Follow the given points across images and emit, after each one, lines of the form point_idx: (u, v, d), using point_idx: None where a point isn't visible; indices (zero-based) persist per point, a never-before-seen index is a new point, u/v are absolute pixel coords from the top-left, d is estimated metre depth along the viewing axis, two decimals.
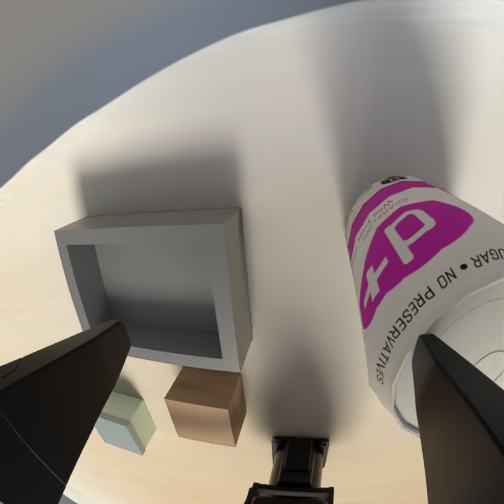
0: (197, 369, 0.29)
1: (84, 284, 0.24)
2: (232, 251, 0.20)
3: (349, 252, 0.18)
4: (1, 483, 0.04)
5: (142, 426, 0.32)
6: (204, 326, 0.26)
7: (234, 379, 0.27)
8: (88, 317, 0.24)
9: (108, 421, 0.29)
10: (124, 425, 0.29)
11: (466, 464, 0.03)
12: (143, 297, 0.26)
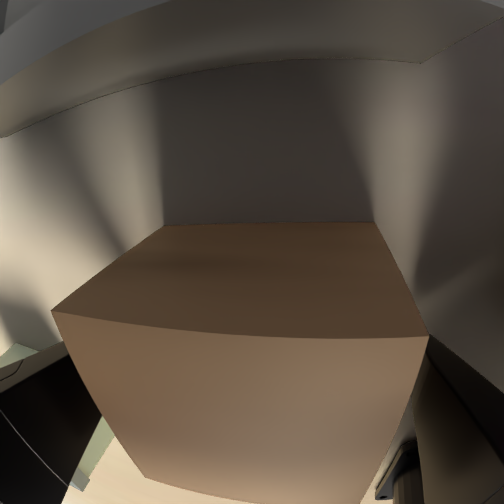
0: (211, 226, 0.09)
1: None
2: None
3: None
4: (3, 485, 0.04)
5: None
6: None
7: (365, 234, 0.07)
8: None
9: None
10: None
11: (462, 465, 0.03)
12: None
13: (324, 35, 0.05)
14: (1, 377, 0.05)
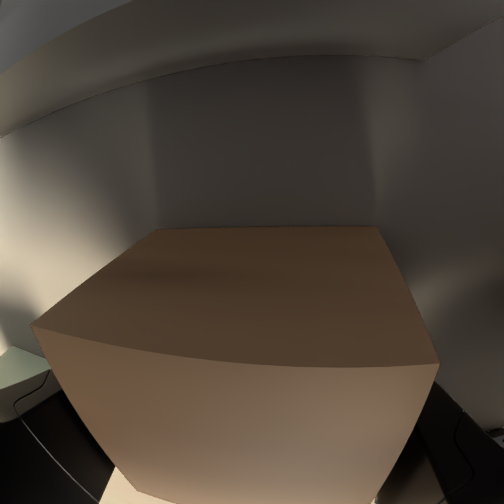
0: (203, 231, 0.08)
1: None
2: None
3: None
4: None
5: None
6: None
7: (368, 241, 0.06)
8: None
9: None
10: None
11: (405, 475, 0.04)
12: None
13: (323, 29, 0.04)
14: (26, 391, 0.05)
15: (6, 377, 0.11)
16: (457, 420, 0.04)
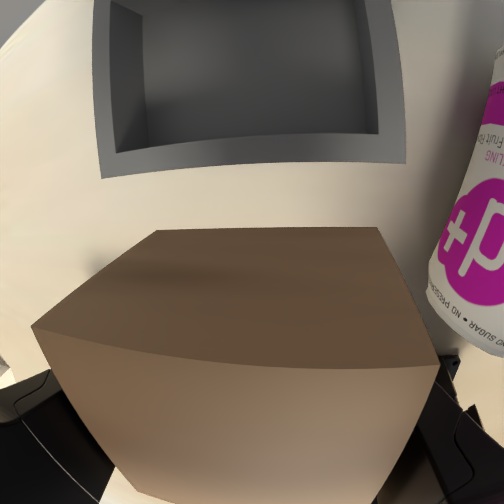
0: (204, 232, 0.08)
1: (119, 64, 0.13)
2: None
3: (486, 105, 0.11)
4: None
5: None
6: (317, 125, 0.15)
7: (368, 242, 0.06)
8: (114, 112, 0.14)
9: None
10: None
11: (405, 475, 0.04)
12: (212, 89, 0.15)
13: None
14: (26, 391, 0.05)
15: None
16: (457, 420, 0.04)
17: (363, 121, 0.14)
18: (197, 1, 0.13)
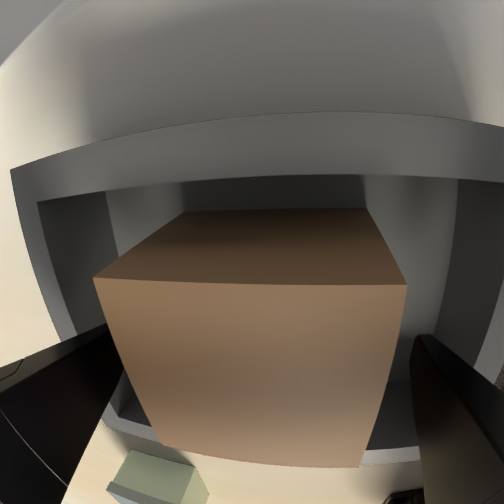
0: (225, 212, 0.10)
1: (86, 304, 0.10)
2: None
3: None
4: (3, 484, 0.04)
5: (194, 501, 0.19)
6: None
7: (359, 217, 0.08)
8: None
9: None
10: None
11: (463, 465, 0.03)
12: None
13: None
14: (1, 377, 0.05)
15: (142, 477, 0.18)
16: None
17: None
18: None
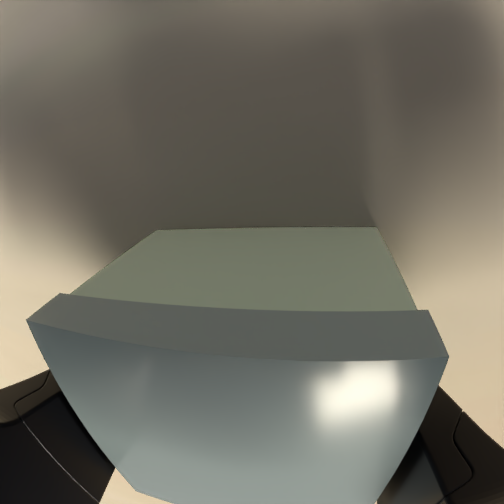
0: None
1: None
2: None
3: None
4: None
5: None
6: None
7: None
8: None
9: (214, 367, 0.03)
10: (422, 355, 0.03)
11: (404, 475, 0.04)
12: None
13: None
14: (27, 391, 0.05)
15: (196, 269, 0.06)
16: (456, 420, 0.04)
17: None
18: None
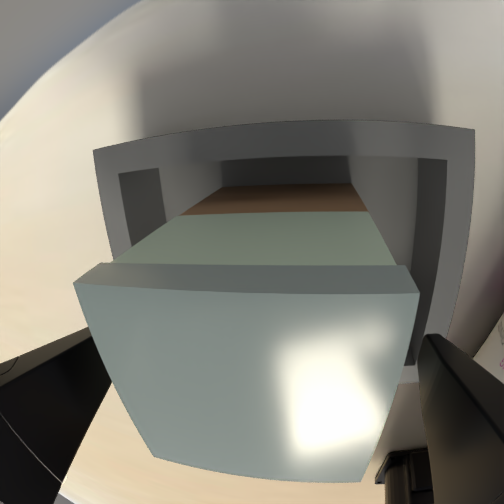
0: (253, 186, 0.14)
1: None
2: None
3: None
4: None
5: None
6: None
7: (345, 187, 0.12)
8: None
9: (241, 304, 0.05)
10: (399, 292, 0.04)
11: (473, 462, 0.03)
12: None
13: None
14: None
15: (218, 242, 0.07)
16: None
17: None
18: None
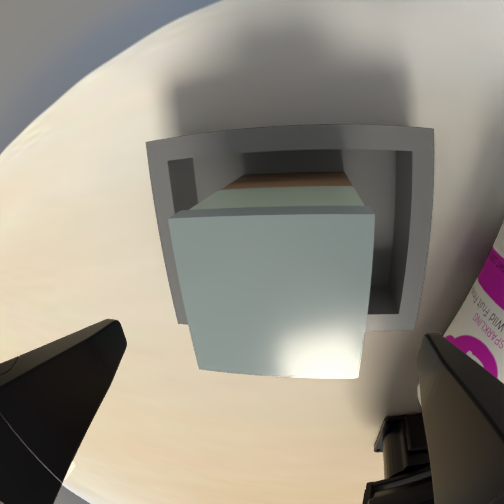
0: (269, 173, 0.18)
1: None
2: None
3: (486, 266, 0.16)
4: None
5: None
6: None
7: (338, 174, 0.16)
8: None
9: (279, 222, 0.09)
10: (363, 214, 0.08)
11: (473, 462, 0.03)
12: None
13: None
14: None
15: (256, 200, 0.11)
16: None
17: (387, 276, 0.19)
18: None
